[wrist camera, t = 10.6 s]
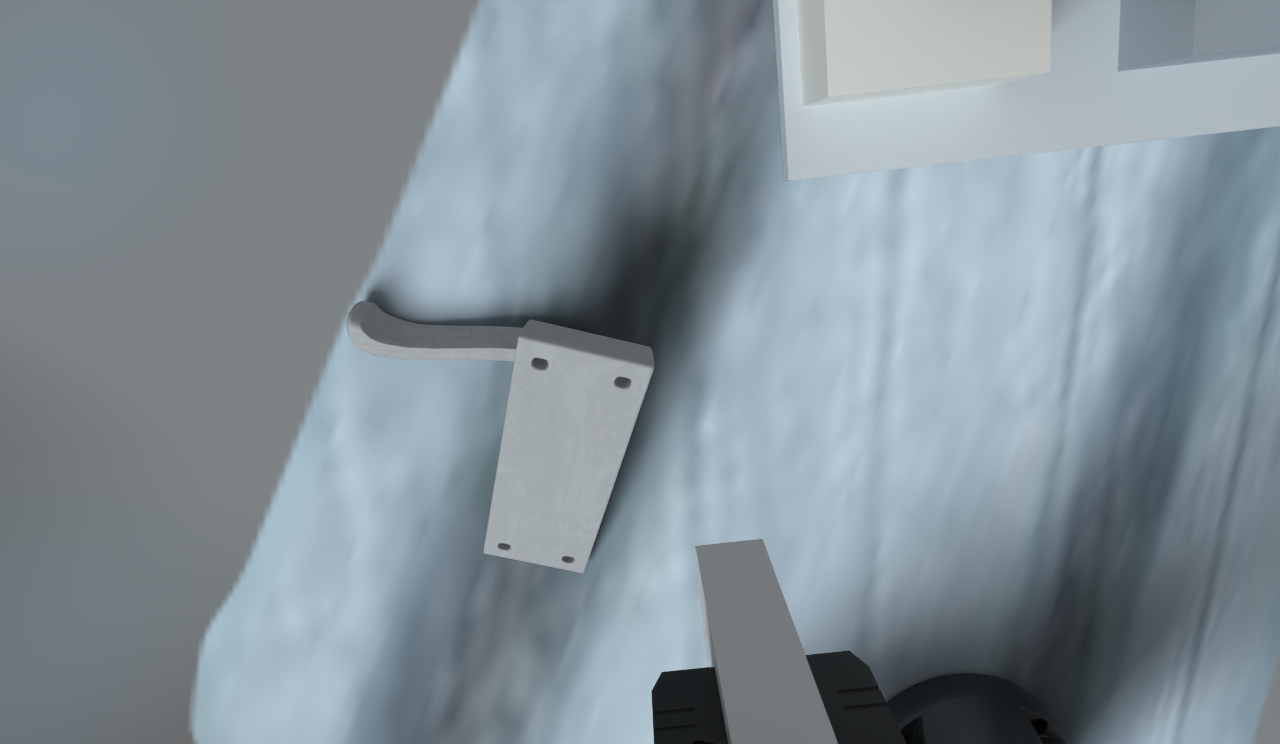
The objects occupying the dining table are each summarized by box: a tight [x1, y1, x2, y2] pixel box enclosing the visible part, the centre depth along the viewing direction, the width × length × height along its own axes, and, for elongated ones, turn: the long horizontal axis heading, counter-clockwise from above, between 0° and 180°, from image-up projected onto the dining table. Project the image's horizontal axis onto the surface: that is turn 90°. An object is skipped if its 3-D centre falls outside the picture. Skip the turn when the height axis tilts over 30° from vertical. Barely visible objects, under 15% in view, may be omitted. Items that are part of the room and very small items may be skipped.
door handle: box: [347, 301, 654, 573], centre depth 47 cm, size 18×8×20 cm
